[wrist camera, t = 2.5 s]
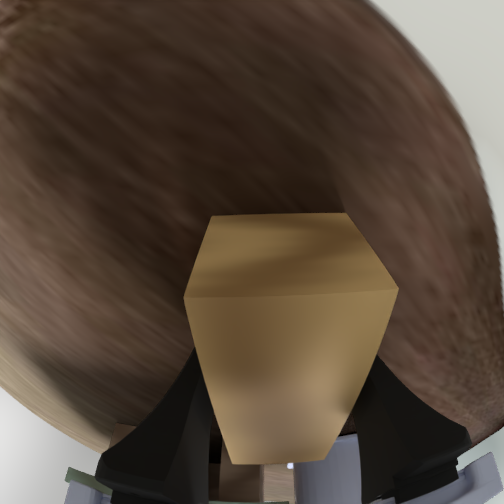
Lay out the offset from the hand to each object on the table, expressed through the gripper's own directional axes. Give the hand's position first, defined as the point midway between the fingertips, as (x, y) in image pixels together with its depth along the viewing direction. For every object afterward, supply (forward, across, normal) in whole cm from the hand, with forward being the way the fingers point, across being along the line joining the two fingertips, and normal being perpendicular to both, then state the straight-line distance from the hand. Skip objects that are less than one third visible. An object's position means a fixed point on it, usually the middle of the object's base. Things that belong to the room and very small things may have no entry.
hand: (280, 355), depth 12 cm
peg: (+2, 0, 0) cm, 2 cm away
